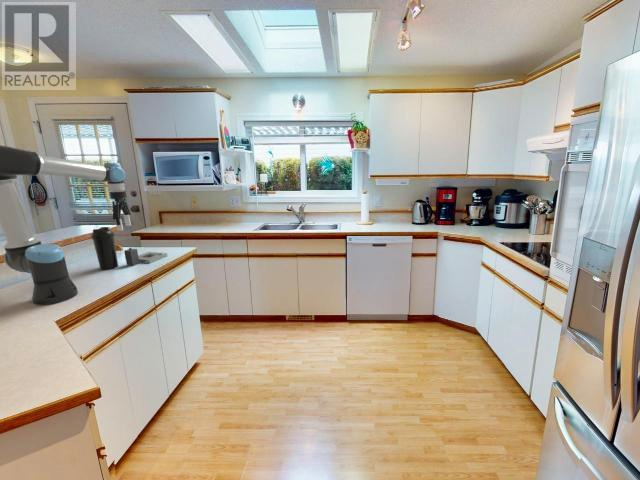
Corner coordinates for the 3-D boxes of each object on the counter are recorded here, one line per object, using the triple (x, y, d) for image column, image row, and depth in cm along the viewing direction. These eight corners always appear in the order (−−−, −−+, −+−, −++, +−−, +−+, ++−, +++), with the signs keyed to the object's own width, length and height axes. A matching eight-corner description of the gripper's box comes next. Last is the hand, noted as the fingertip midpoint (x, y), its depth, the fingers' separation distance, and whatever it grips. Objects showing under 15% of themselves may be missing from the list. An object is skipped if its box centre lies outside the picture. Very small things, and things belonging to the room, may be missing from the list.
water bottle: (124, 264, 174) (116, 226, 168) (110, 270, 164) (102, 230, 158) (108, 264, 175) (100, 226, 169) (93, 270, 165) (85, 230, 160)
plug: (133, 266, 171) (130, 249, 169) (126, 265, 173) (123, 248, 170) (139, 263, 176) (136, 247, 173) (133, 263, 177) (130, 246, 174)
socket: (149, 263, 176) (149, 259, 175) (130, 261, 179) (130, 257, 179) (167, 256, 189) (166, 252, 188) (149, 254, 192) (148, 250, 192)
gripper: (117, 193, 156) (124, 232, 162) (132, 189, 179) (138, 223, 185) (100, 193, 154) (108, 233, 160) (117, 189, 177) (124, 224, 183)
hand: (124, 228), depth 172 cm, fingers open, 13 cm apart
